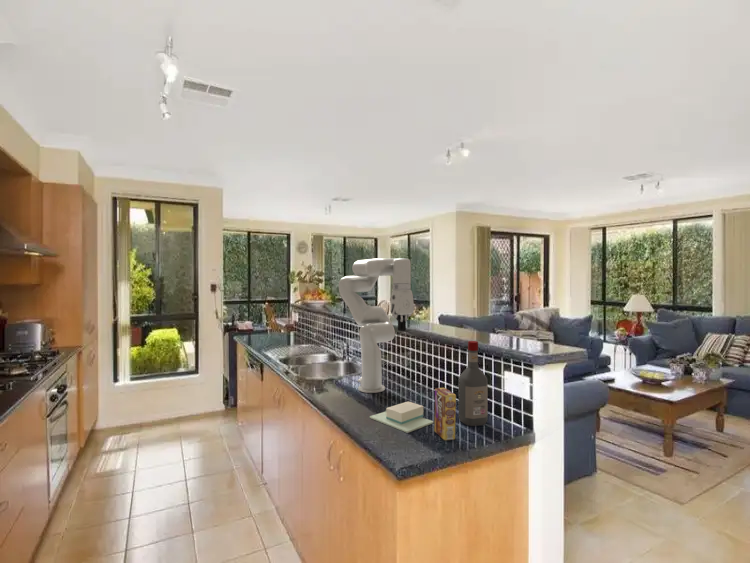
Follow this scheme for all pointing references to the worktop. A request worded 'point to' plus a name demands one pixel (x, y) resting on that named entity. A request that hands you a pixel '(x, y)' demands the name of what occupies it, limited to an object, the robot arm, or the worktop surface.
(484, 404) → the liquor
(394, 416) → the tile
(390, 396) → the worktop surface
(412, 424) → the mat
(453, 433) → the candy box
